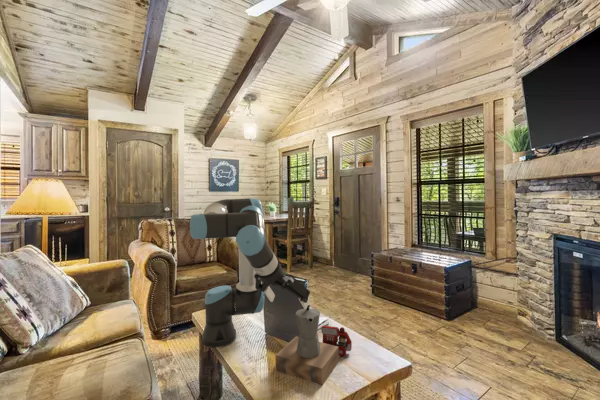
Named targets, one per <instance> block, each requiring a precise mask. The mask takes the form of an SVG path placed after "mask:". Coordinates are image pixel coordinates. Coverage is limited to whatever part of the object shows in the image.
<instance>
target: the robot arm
mask: <svg viewBox="0 0 600 400" xmlns="http://www.w3.org/2000/svg"><path fill="white" fill-rule="evenodd" d="M189 231H190V232H189V233H190V237H191V238H192V239H193V240H196V239H197V240H198V239H199V240H206V239H207V240H209V239H219V238H220V239H222V238H223V239H224V238H235V243H236V245H237V246H238V279H239V280H238V281H239V282H237V283H236V285H235V288H232V287H231V285H226V284H225V285H219V286H216V287H212V288H211V289H208V290H207V292H206V293H205V296H204V305H205V307H204V308H205V326H204V330H203V333H202V336H201V342H202V344H203V345H204V346H205V347H210V348H219V347H224V346H227V345H229V344H232V343H233V342H234V341H235V340H236V339H237V330H236V328H235V325H234V323H233V316H241V315H242V316H243V315H250V314H252V315H253V314H256V313H261V312H262V311H263V309H264V305H265V297H267V299H268V300H269V302H270V303H273V302H274V299H275V297H276V295H275V293H274V291H273V290H272V288H271V287H270V285H271V286H276V287H279V288H280V289H282V290H286V291H288V292H290V293H291V294H293V295H295V296H296V297H297V298H298V301H299V302H300V304H301V305H302V307H303V308H304V309H307V306H308V305H309V302H310V301H309V297H310V293H311V291H310V290H309V289H308V288H307V287H305V286H304V285H303V284H302V283H301V282H299V281H298V280H297V279H296V278H295V276H294V275H293V274H290V275H289V276H286V275H285V274H284V273H283V267H282V265H281V263H280V261H279V260H278V258H277V257H276V254H275V253H274V251H273V250H272V248H271V246H270V244H269V243H268V239H267V238H268V237H267V233H266V226H265V215H264V211H263V205H262V202H261V200H260V199H258V198H249V197H248V198H233V199H232V198H231V199H229V198H227V199H226V198H225V199H220V200H217V201H214V202H211V203H210V204H208V205H207V206H206V207H205V209H204V211H203V213H198V214H197V213H196V214H192V215H191V216H190V220H189ZM262 282H263V283H262ZM303 308H302V309H303Z"/></svg>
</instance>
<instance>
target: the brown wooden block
mask: <svg viewBox="0 0 600 400" xmlns="http://www.w3.org/2000/svg"><path fill="white" fill-rule="evenodd" d="M298 338H299V336H297V335H296V336H295V337H293V338H292V339H291V340H290V341H289V342H288V343H287V344H286V345H284V347H283V348H282V349H280V350H279V351H278V352H277V353H276V354H275V357H274V358H275V360H274V361H275V371H276V372H278V373H281V374H285V375H286V376H287V375H288V376H291V377H294V378H296V379H300V380H304V381H306V382H309V383H313V384H315V385H319V386H323V385H324V384H325V382H326V381H327V380H328V378H329V376H330V375H331V374H332V372H333V371H334V369H335V368H336V366H337V365H338V363H339V361H340V360H339V359H340V356H339V347H338V346H334V345H330V344H326V343H323V341H322V342H321V341H319V344H320V354H319V355H318V356H317V357H314V358H303V357H301V356H299V355H298V354H297V345H298Z"/></svg>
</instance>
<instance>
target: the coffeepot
mask: <svg viewBox="0 0 600 400" xmlns="http://www.w3.org/2000/svg"><path fill="white" fill-rule="evenodd" d="M310 306H311V305H310V304H308V306H307V309H304V308H303V306H302V308H300V309H297V311H296V312H295V319H296V323H297V324H296V325H297V330H298V332H299V333H298V334H299V335H298V337H299V338H298V345H297V354H298V355H299V356H301V357H303V358H314V357H317V356H318V355H319V354H320V344H319V342H320V340H319V335H318V330H319V324H320V316H321V311H319V310H318V309H316V308H310Z"/></svg>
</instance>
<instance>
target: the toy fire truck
mask: <svg viewBox="0 0 600 400" xmlns="http://www.w3.org/2000/svg"><path fill="white" fill-rule="evenodd" d="M321 334H322V343H326V344H330V345H334V346H338V347H339V358H343V357H345V356H346V355H347V352H351V351H352V339H351V338H350V336H349V335H350V334H349V333H348V332H347V331H346V329H345V328H344V327H342V326H341V327H340V328H339V327H337V326H330V325H322V326H321Z"/></svg>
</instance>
